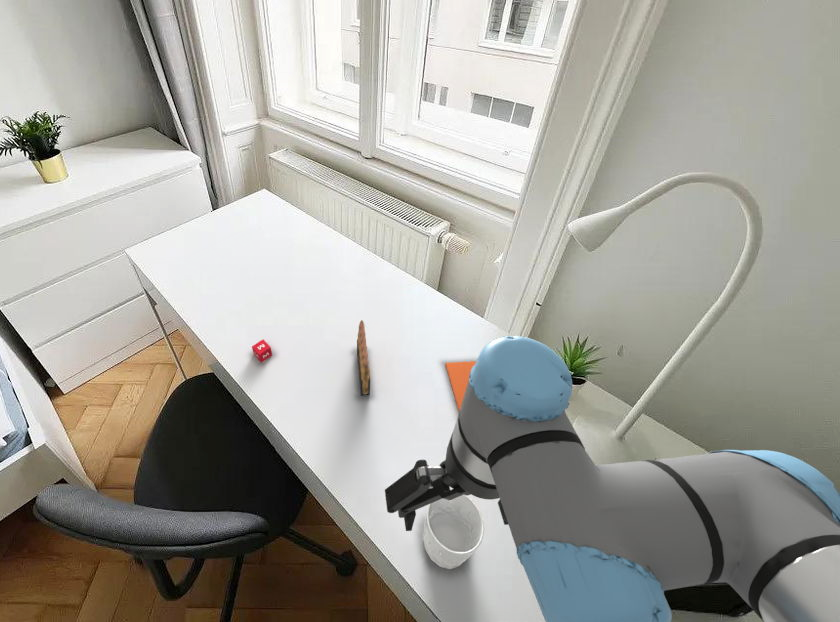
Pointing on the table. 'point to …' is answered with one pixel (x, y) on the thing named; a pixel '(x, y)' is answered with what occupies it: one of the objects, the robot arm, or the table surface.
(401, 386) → the table surface
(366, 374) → the ammunition clip
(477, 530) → the white cup
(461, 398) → the folder
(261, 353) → the dice
